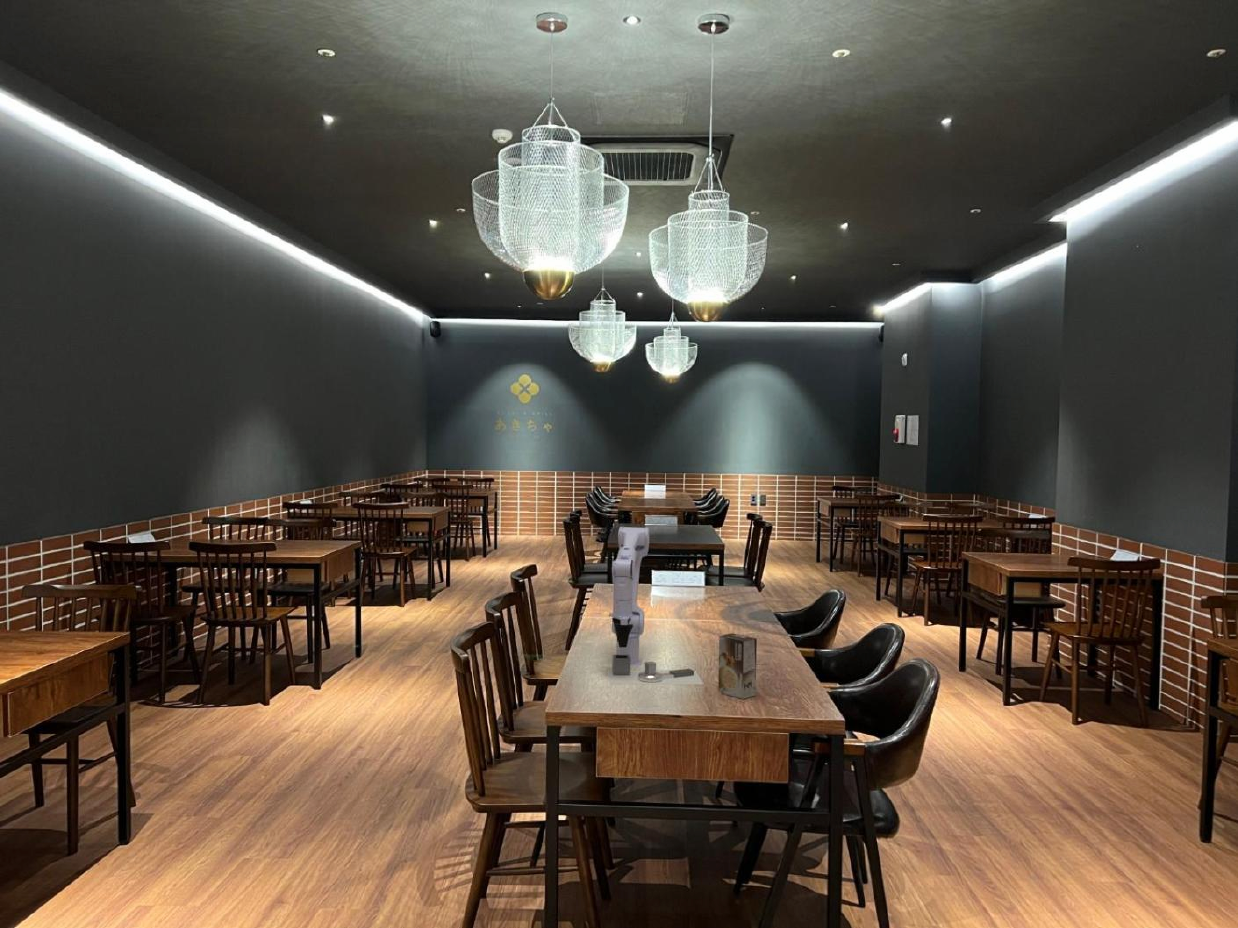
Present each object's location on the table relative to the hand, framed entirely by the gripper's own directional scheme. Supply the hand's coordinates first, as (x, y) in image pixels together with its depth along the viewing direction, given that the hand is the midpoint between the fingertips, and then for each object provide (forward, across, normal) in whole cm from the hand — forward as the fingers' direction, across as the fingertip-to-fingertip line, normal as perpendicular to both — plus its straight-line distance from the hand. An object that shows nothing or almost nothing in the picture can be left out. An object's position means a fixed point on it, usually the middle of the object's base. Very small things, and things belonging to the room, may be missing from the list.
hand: (621, 644), depth 262 cm
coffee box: (+10, +20, +31) cm, 38 cm away
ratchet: (+9, +5, +13) cm, 16 cm away
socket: (+9, 0, 0) cm, 9 cm away
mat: (+9, +4, +10) cm, 14 cm away
